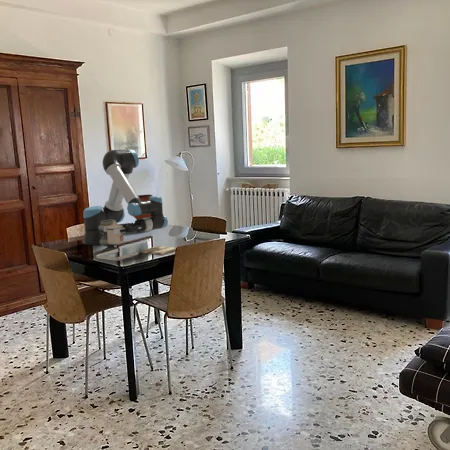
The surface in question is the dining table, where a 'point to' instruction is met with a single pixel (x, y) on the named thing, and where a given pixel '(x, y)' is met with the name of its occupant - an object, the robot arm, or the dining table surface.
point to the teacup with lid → (114, 237)
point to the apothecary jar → (104, 236)
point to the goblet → (143, 198)
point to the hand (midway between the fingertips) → (108, 230)
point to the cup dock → (103, 256)
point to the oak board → (159, 250)
